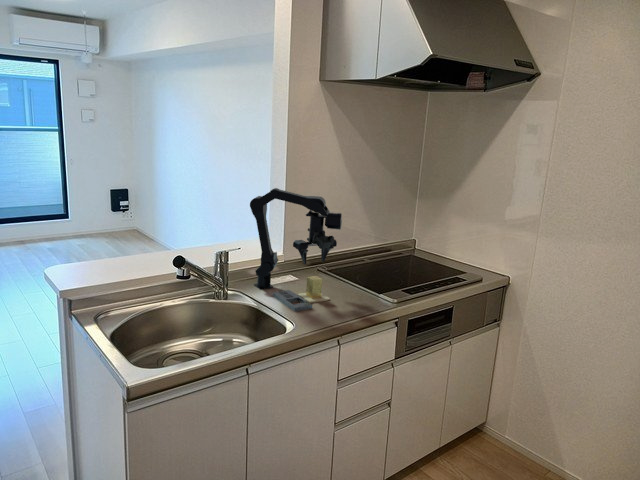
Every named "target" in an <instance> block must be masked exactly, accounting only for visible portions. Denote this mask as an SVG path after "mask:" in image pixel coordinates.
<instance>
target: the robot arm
mask: <svg viewBox="0 0 640 480" xmlns="http://www.w3.org/2000/svg"><path fill="white" fill-rule="evenodd" d="M274 200H279V201H284V202H287V203H290V204H295V205H299V206H302V207H305V208H306V209H308V210H309V211H308V212H307V213H306V214H305V217H310V218H309V219H310V220H309V227H308V228H307V231H308V232H309V233H308V237H307V238H306V240H305V241H304V240H303V239H295V240H294V241H293V244H292V247H293V248H294V249H296V250H297V251H298V253H299V255H300V258H301V261H302V263H303V264H304V265H306V264H307V257H308V256H307V255H308V252H309V249H308V248H309V247H314V246H316V247H318V248H319V249H320V252H321V255H320V256H321V257H320V259H321V263H324V262H325V261H326V258H327V256H328V254H329V252H330V251H331V250H332V249H335V247H337V246H338V245H337V244H338V242H337V240H336V239H335V237H334V236H333V235H326V230H324V226H325V227H326V228H327V229H328V230H329V229H330V230H340V231H341V229H342V224H343V219H342V216H343V215H342V213H341V212H331V211H330V210H329V208H328V206H327V205H326V204H327V202H326V199H325V198H324V197H323V196H319V195H317V196H315V195H302V194H300V193H299V194H298V193H295V192H292V191H286V190H283V189H280V188H277V187H275V188H272V189H271V190H270V191H269V192H267V193H265V194H263V195H257V196H255V197H254V198H253V199H251V200H250V203H249V207H250V210H251V214H252V215H253V217H254V219H255V221H256V226H257V233H258V238H259V244H260V249H261V255H260V256H261V257H260V265H259V266H258V267H257V268H256V269H255V270H254V272H255V275H256V276H257V278H256V283H253V286H254V287H256V288H257V289H259V290H265V289H273V288H274V286H273V285H271V278H272V277H271V276H272V275H271V272H273V271H274V269H275V268H276V266H277V265H278V262H279V258H278V252H277V251H275V252H274V250H273V248H272V244H271V238H270V233H269V227H268V226H269V225H268V220H267V211H268V203H270V202H272V201H274Z"/></svg>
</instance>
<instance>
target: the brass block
mask: <svg viewBox="0 0 640 480" xmlns="http://www.w3.org/2000/svg"><path fill="white" fill-rule="evenodd" d="M322 285H323V278H321V277H319V276H318V275H313V276H307V277H306V289H305V291H306V295H307V296H308V297H310V298H311V299H314V298H319V297H321V293H322Z"/></svg>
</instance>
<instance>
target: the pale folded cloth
mask: <svg viewBox="0 0 640 480" xmlns="http://www.w3.org/2000/svg"><path fill="white" fill-rule="evenodd" d="M297 295H298V296H300V297H301V298H303V299H304V300H306V301H307V302H309V303H311V304H313V303H314V304H315V303H319V302H326V301H330V300H331V297H328V296H327V295H325V294H324V293H322V292H321V297H319V298H314V299H311V298H310V297H308V296H307V295H306V292H299V293H297Z"/></svg>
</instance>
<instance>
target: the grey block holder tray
mask: <svg viewBox="0 0 640 480" xmlns="http://www.w3.org/2000/svg"><path fill="white" fill-rule="evenodd" d="M297 294H298V293H297ZM297 294H296V293H295V292H293V291H292V290H290V289H286V290H280V291H274V292H272V297H273V298H274V299H276V300H277V301H278V302H280V303H282V304H283V305H285V306H286V307H287V308H288V309H290V310H292V311H293V312H300V311H306V310H311V309H313V303H309V302H307V301H306V300H304V299H303V298H301V297H300V296H298V295H297ZM294 302H299V303H296V304H293V303H294Z"/></svg>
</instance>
